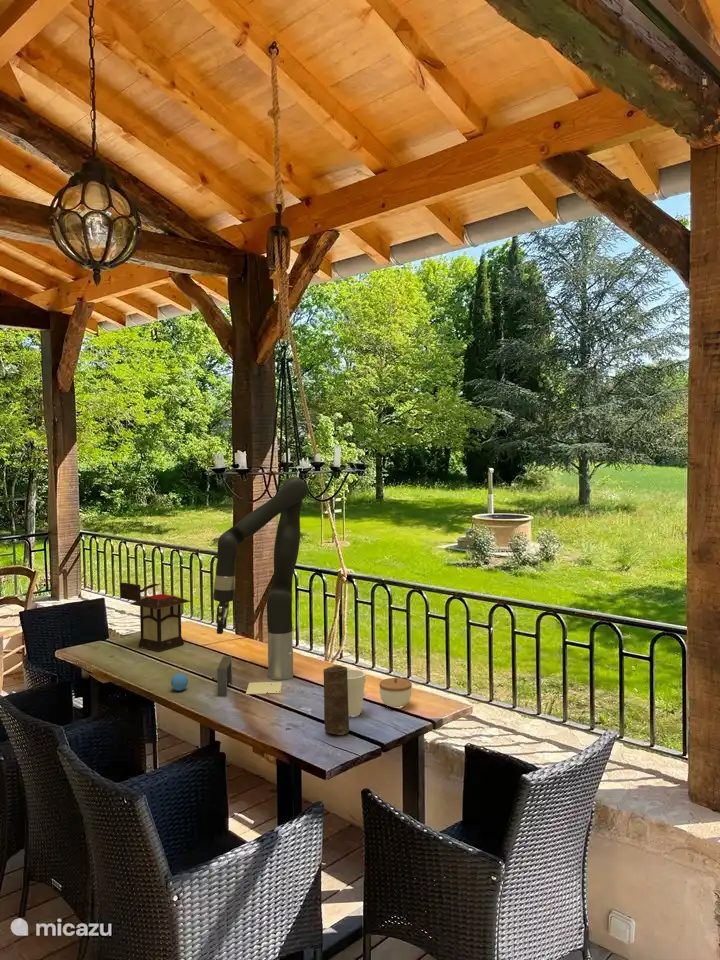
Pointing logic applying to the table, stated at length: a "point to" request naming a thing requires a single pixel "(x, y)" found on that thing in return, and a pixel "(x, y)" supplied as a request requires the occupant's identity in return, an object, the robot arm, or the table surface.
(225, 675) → the bridge
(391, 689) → the lidded jar
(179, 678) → the ball
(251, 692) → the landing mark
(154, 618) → the lantern
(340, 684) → the candle
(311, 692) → the table surface
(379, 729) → the table surface
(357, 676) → the foam cup
